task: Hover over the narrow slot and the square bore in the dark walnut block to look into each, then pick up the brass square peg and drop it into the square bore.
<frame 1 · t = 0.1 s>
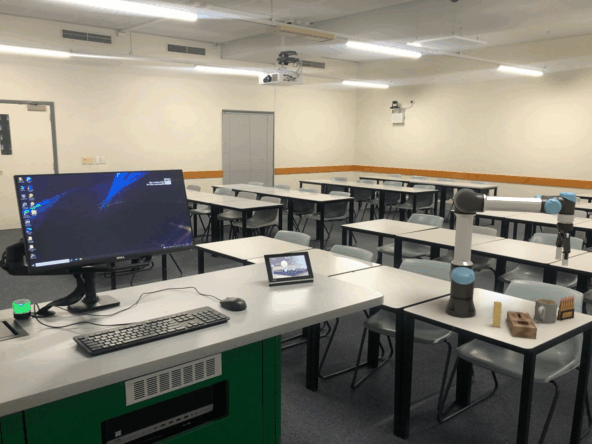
hand: (561, 262, 261), 28 cm above the table, tool pointing down, fingers open, 13 cm apart
brass square peg: (496, 326, 247), on the table
walnut bore block: (520, 329, 243), on the table
ammunition clip: (565, 319, 258), on the table
coffee mug: (542, 320, 255), on the table
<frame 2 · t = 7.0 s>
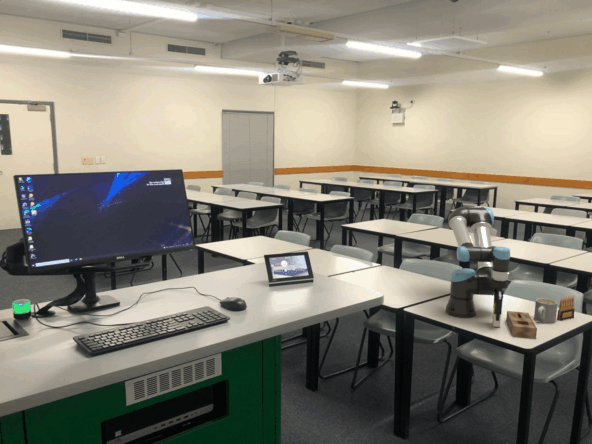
hand: (496, 324, 247), 1 cm above the table, tool pointing down, fingers closed on brass square peg, 3 cm apart
brass square peg: (496, 325, 247), on the table, touching gripper
everything else where it was.
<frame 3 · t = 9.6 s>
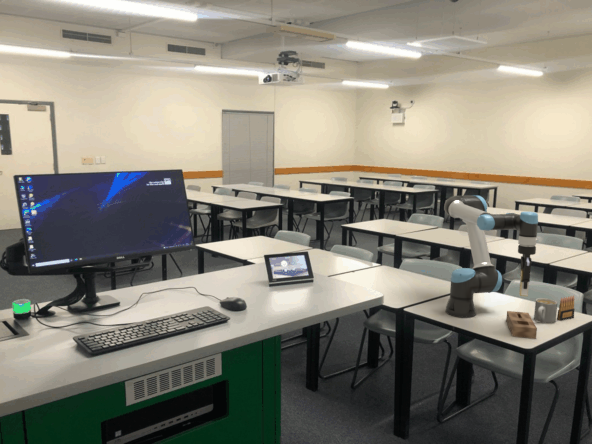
hand: (523, 294, 235), 19 cm above the table, tool pointing down, fingers closed on brass square peg, 3 cm apart
brass square peg: (523, 295, 235), point 19 cm above the table, touching gripper
everything else where it was.
when the fingers open (7 cm above the table, at t = 12.5 s): brass square peg drops 6 cm, resting in walnut bore block.
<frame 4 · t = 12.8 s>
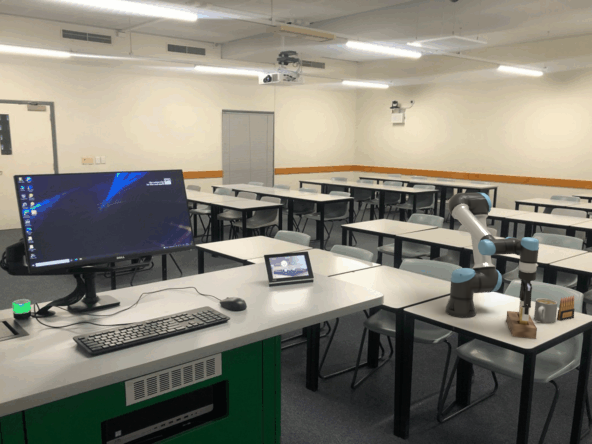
hand: (523, 317, 237), 8 cm above the table, tool pointing down, fingers open, 8 cm apart
brass square peg: (522, 332, 238), resting in walnut bore block
everything else where it was.
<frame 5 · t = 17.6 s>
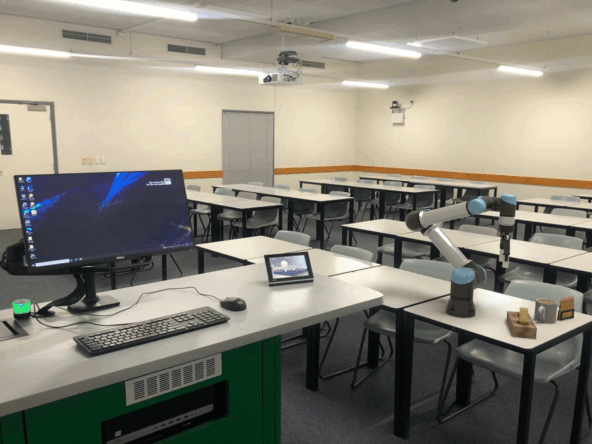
hand: (503, 264, 260), 27 cm above the table, tool pointing down, fingers open, 13 cm apart
nothing on the table moved.
at the end: brass square peg 0.0 cm from the target spot on the walnut bore block, point 0.0 cm above the walnut bore block's base; brass square peg tilted 0°; the gripper is holding nothing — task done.
